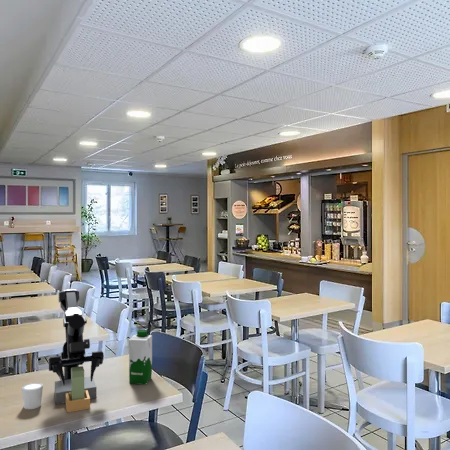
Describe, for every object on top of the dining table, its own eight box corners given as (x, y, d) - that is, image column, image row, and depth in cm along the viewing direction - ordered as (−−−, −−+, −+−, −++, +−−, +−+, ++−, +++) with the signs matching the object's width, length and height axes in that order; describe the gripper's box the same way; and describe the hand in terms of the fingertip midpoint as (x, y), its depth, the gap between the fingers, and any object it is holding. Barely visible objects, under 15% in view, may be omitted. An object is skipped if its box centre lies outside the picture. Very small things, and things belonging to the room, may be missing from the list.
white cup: (46, 401, 155) (46, 382, 155) (38, 410, 148) (38, 389, 148) (26, 401, 154) (26, 382, 154) (18, 410, 147) (18, 390, 147)
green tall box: (71, 403, 153) (71, 367, 153) (82, 401, 154) (82, 366, 154) (72, 409, 148) (72, 372, 148) (84, 407, 150) (84, 370, 150)
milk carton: (154, 377, 179) (154, 329, 179) (147, 385, 170) (147, 335, 170) (133, 376, 180) (134, 329, 180) (126, 384, 171) (126, 334, 171)
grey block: (54, 391, 163) (54, 381, 163) (92, 386, 169) (92, 376, 169) (56, 414, 145) (56, 402, 145) (99, 406, 150) (99, 395, 150)
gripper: (48, 334, 151) (49, 376, 141) (103, 329, 158) (107, 368, 148) (48, 350, 158) (49, 390, 148) (100, 344, 166) (104, 382, 156)
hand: (77, 382), depth 150 cm, fingers open, 9 cm apart
